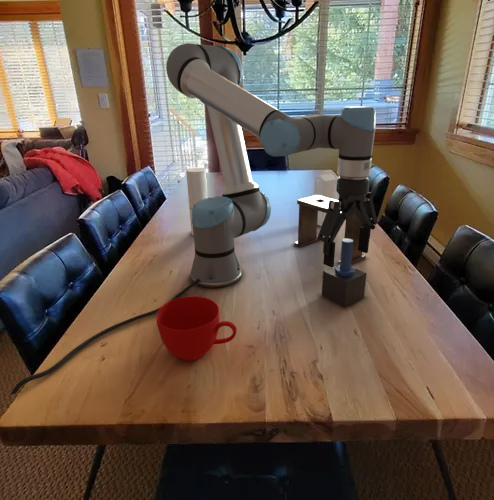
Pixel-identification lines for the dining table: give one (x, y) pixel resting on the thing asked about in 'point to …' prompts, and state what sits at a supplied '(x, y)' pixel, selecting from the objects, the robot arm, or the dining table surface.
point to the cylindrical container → (196, 188)
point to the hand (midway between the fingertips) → (346, 258)
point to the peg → (346, 259)
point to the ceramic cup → (191, 326)
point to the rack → (309, 224)
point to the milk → (324, 190)
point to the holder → (343, 287)
